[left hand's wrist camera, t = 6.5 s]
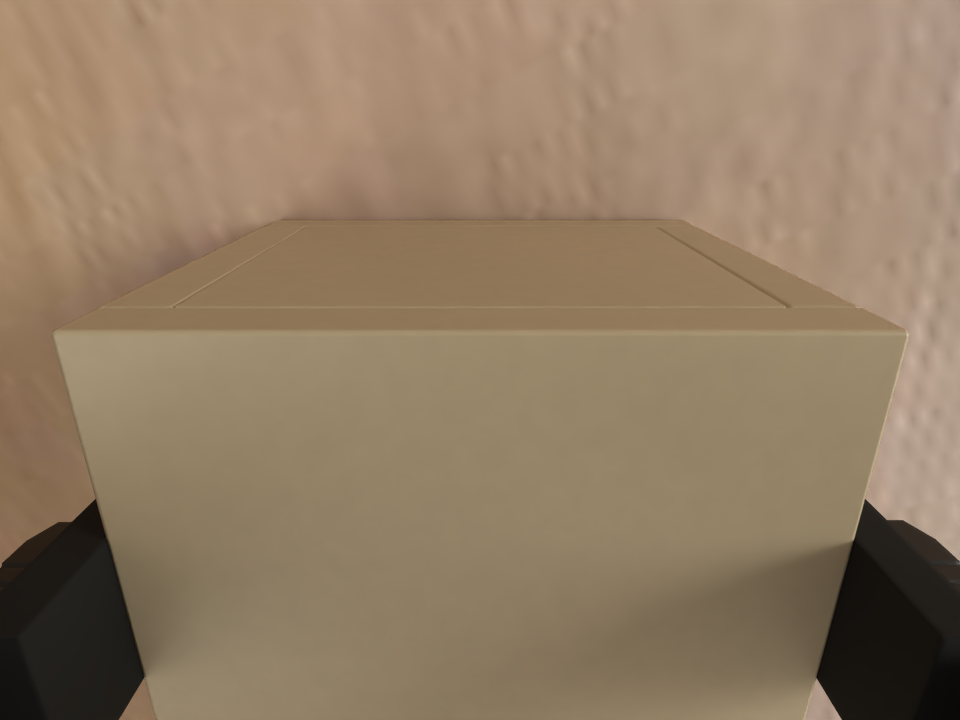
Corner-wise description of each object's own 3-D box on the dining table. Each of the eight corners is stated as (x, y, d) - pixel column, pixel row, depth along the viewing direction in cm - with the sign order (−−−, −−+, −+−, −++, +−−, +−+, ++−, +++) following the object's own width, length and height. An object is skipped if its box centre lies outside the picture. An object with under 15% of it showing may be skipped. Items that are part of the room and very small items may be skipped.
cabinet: (628, 679, 22) (722, 1032, 14) (331, 679, 22) (238, 1031, 14) (684, 219, 16) (914, 330, 8) (276, 219, 16) (46, 330, 8)
